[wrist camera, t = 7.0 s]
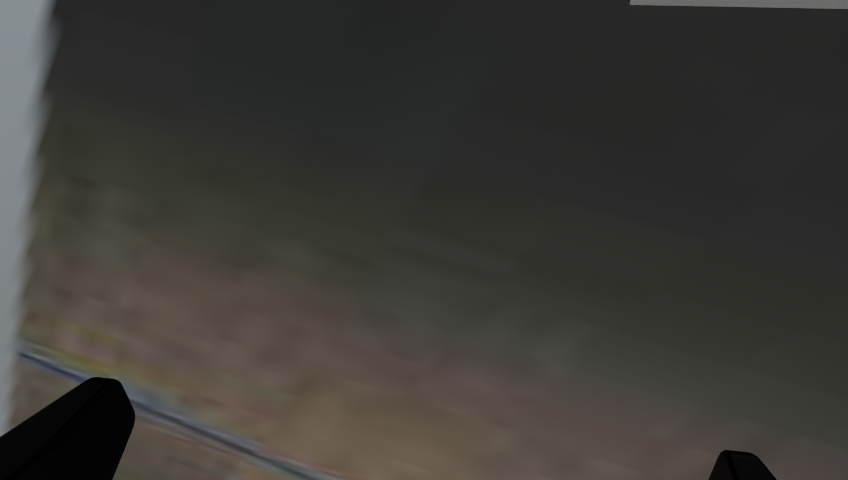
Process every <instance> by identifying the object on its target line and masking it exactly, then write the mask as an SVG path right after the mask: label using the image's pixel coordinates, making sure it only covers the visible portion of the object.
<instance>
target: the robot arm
mask: <svg viewBox="0 0 848 480" xmlns="http://www.w3.org/2000/svg"><path fill="white" fill-rule="evenodd" d="M134 423H135V411H134V409H133V407H132V405H131V403H130V400H129V398H128V396H127V394H126V392H125V390H124V388H123V386H122V384H121V383H120V382H119V381H118V380H116V379H110V378H102V377H93V378H90V379H88V380H86V381H84V382H83V383H81V384H80V385H78V386H77V387H75V388H74V389H72V390H71V391H69V392H68V393H66V394H65V395H63V396H62V397H60V398H58V399H57V400H55V401H54V402H52V403H51V404H49V405H48V406H46V407H45V408H43V409H42V410H40V411H39V412H37V413H36V414H34V415H33V416H31V417H30V418H28V419H27V420H25V421H24V422H22V423H21V424H19V425H18V426H16V427H15V428H13V429H11V430H10V431H8V432H7V433H5V434H4V435H2V436H1V437H0V480H112V479H113V477H114V474H115V472H116V469H117V467H118V464H119V462H120V459H121V457H122V454H123V452H124V449H125V447H126V444H127V442H128V439H129V437H130V434H131V432H132V429H133V427H134ZM708 480H776V478H775V477H774V476H773V475H772V473H771V472H770V471H769V470H768V468H767V467H766V466H765V465H764V464H763V462H762V461H761V460H760V459H759V458H758V457H757V456H756V455H754V454H752V453H749V452H740V451H731V450H724V451H722V452H721V453H720V455H719V456H718V459H717V461H716V463H715V466H714V468H713V470H712V472H711V475H710V477H709V479H708Z"/></svg>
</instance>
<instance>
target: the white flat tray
mask: <svg viewBox="0 0 848 480" xmlns="http://www.w3.org/2000/svg"><path fill="white" fill-rule="evenodd" d="M629 4H630V5H669V6H723V7H776V8H829V9H848V0H629Z"/></svg>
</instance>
